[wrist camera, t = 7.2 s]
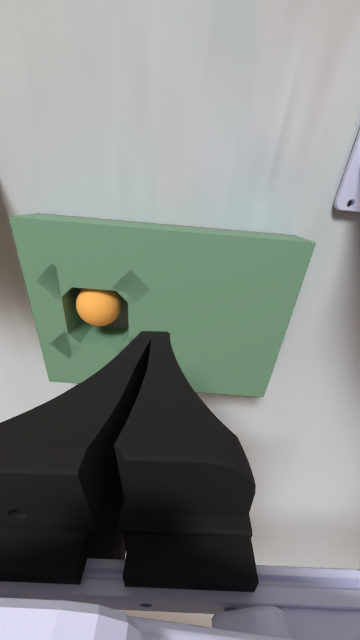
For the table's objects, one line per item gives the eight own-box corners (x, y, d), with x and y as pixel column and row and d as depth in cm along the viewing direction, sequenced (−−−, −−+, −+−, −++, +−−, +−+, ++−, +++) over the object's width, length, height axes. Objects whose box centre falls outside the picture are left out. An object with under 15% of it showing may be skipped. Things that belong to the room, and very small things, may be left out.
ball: (89, 290, 21) (123, 310, 22) (65, 318, 19) (103, 340, 20) (94, 267, 18) (133, 290, 19) (67, 296, 16) (111, 322, 17)
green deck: (294, 235, 18) (315, 242, 15) (254, 373, 25) (263, 397, 22) (37, 213, 18) (8, 216, 15) (65, 359, 24) (49, 381, 21)
